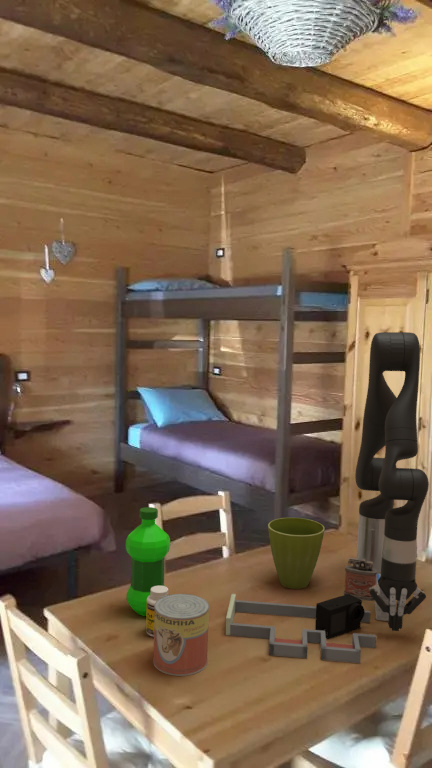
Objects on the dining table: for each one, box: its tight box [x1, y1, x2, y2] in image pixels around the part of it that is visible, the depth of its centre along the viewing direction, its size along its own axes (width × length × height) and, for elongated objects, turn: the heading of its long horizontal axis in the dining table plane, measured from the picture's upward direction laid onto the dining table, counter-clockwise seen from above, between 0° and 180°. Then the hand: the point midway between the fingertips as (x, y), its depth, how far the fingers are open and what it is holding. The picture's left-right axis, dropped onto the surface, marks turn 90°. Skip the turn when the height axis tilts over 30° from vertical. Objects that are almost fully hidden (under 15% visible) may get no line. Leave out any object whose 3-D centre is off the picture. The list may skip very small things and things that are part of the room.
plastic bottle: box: [125, 506, 171, 617], centre depth 156 cm, size 10×10×25 cm
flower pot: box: [267, 517, 325, 590], centre depth 175 cm, size 15×15×16 cm
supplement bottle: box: [145, 585, 169, 638], centre depth 146 cm, size 6×6×10 cm
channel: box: [225, 593, 377, 664], centre depth 147 cm, size 20×33×4 cm, turn 83°
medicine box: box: [374, 574, 389, 622], centre depth 159 cm, size 8×4×9 cm, turn 168°
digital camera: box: [314, 594, 365, 640], centre depth 149 cm, size 10×5×7 cm, turn 124°
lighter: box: [343, 557, 377, 602], centre depth 168 cm, size 8×3×10 cm, turn 71°
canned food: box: [152, 593, 210, 677], centre depth 134 cm, size 11×11×12 cm
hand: (394, 629), depth 148 cm, fingers closed
